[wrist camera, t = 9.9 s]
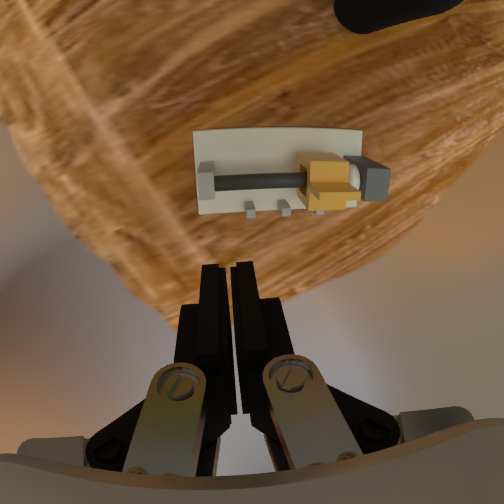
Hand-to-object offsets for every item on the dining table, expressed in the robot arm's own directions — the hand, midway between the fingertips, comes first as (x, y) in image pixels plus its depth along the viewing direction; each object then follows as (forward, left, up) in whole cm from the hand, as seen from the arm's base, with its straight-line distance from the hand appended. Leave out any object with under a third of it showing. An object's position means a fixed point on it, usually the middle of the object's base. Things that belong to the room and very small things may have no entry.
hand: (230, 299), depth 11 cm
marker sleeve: (-10, +2, -24) cm, 26 cm away
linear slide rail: (-7, +2, -28) cm, 29 cm away
